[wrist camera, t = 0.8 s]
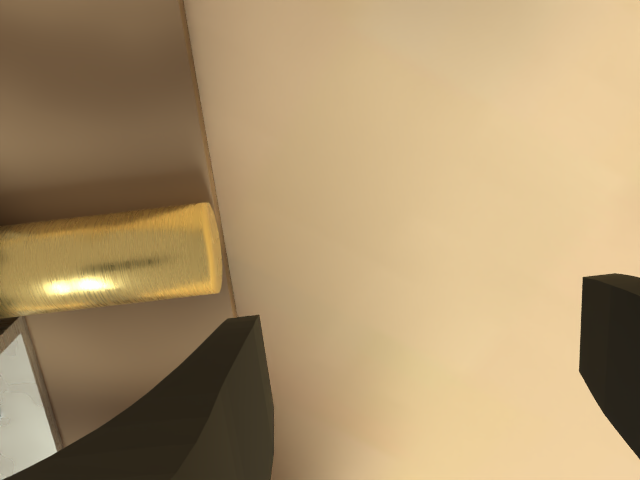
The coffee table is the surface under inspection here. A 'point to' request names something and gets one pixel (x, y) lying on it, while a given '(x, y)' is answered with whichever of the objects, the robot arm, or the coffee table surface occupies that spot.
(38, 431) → the hinge leaves
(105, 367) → the board
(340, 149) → the coffee table surface
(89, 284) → the pin
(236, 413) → the robot arm
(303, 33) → the coffee table surface
